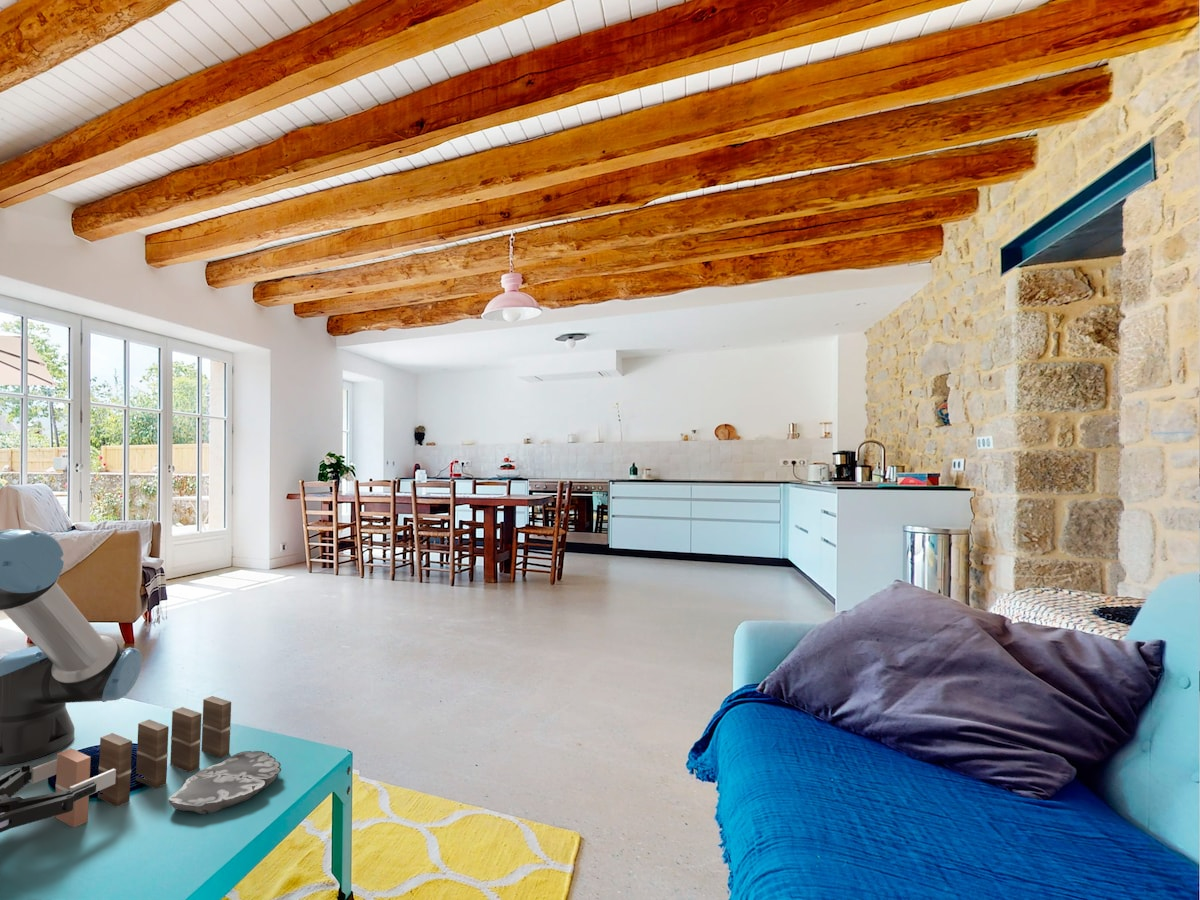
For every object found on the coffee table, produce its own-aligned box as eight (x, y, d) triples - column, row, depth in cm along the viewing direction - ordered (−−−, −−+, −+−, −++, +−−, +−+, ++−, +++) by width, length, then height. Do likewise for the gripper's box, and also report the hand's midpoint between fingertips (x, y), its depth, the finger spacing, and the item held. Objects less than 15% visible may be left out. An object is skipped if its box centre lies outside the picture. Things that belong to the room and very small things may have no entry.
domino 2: (117, 807, 106) (119, 745, 106) (97, 797, 109) (99, 737, 109) (129, 801, 108) (132, 740, 108) (110, 791, 111) (112, 732, 111)
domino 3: (155, 789, 112) (157, 730, 112) (135, 780, 115) (137, 723, 115) (166, 783, 114) (169, 726, 114) (146, 775, 117) (149, 719, 117)
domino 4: (189, 772, 118) (191, 717, 118) (169, 764, 121) (172, 710, 121) (199, 767, 120) (201, 713, 120) (180, 760, 123) (182, 707, 123)
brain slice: (233, 826, 102) (234, 810, 102) (152, 817, 103) (152, 802, 104) (301, 767, 121) (302, 754, 121) (231, 761, 123) (232, 748, 123)
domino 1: (73, 827, 100) (76, 762, 100) (54, 817, 103) (57, 753, 103) (88, 821, 102) (91, 756, 102) (68, 810, 105) (71, 748, 105)
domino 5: (220, 758, 124) (222, 705, 124) (201, 750, 127) (203, 699, 127) (229, 753, 126) (231, 701, 126) (210, 746, 128) (212, 695, 129)
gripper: (-105, 835, 91) (60, 770, 110) (-39, 885, 81) (130, 804, 100) (-103, 790, 91) (62, 733, 110) (-36, 834, 81) (132, 763, 101)
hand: (95, 767), depth 105 cm, fingers open, 13 cm apart
